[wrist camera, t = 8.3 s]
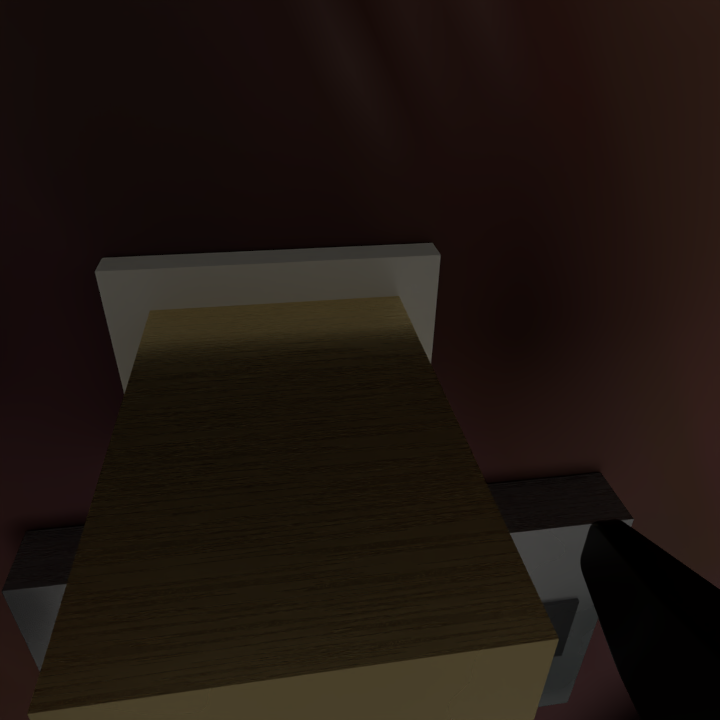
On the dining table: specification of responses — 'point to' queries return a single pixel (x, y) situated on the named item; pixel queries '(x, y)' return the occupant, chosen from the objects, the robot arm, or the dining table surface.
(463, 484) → the brown wooden block
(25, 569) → the grey flat frame
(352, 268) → the pad
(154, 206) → the dining table surface
